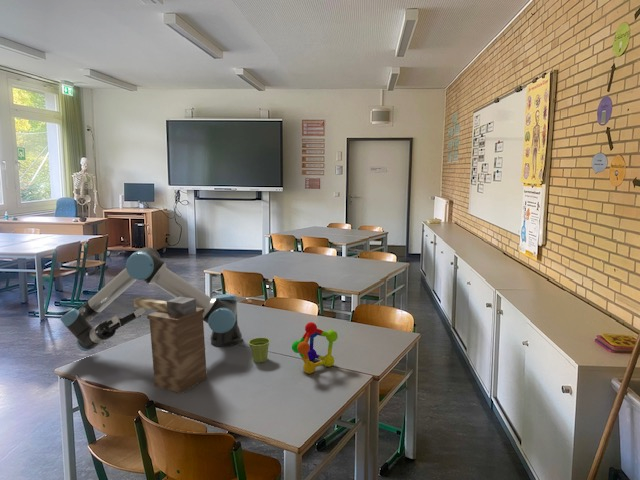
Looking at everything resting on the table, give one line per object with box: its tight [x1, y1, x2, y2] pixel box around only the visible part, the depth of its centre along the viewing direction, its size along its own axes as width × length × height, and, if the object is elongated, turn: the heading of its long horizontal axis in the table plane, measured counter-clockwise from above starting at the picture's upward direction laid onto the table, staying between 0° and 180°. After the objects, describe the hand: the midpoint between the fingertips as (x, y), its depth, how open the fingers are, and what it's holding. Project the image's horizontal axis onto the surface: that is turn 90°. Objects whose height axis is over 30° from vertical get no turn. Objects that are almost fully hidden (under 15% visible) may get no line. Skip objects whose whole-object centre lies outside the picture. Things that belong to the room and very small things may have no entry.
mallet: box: [133, 297, 196, 317], centre depth 181 cm, size 28×7×5 cm, turn 64°
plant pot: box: [248, 337, 271, 363], centre depth 201 cm, size 9×9×9 cm
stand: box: [146, 307, 208, 394], centre depth 180 cm, size 15×15×29 cm
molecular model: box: [291, 321, 338, 375], centre depth 193 cm, size 21×15×20 cm
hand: (131, 313), depth 190 cm, fingers open, 13 cm apart
